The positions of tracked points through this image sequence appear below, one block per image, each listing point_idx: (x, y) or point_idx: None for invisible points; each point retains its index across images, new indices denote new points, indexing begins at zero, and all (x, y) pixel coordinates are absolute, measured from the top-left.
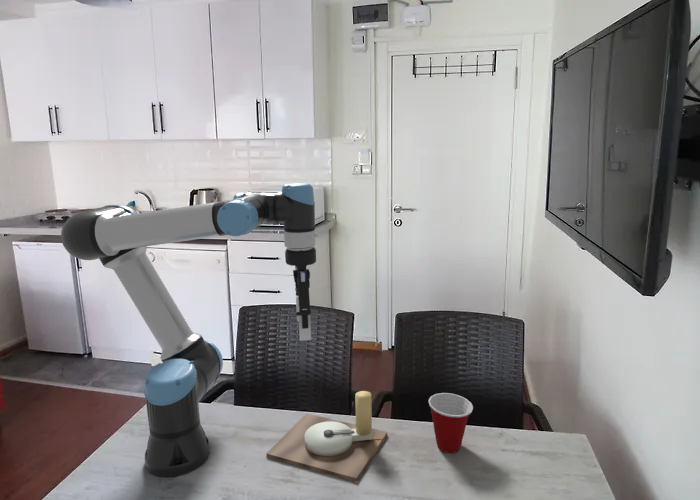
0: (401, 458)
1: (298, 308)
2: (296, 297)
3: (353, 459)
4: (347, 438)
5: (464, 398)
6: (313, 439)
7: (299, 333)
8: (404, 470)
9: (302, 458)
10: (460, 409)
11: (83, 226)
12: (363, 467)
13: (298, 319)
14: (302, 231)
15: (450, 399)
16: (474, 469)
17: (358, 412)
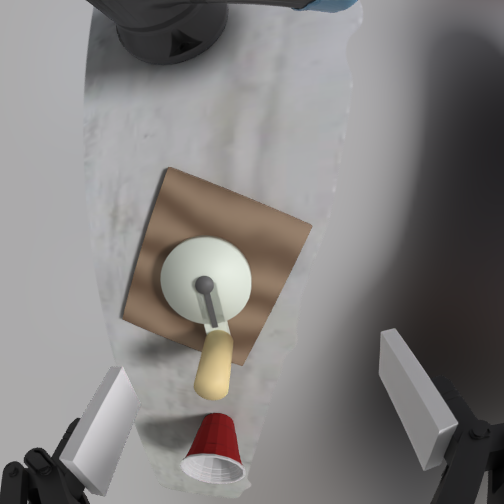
0: (184, 373)
1: (408, 386)
2: (444, 430)
3: (163, 316)
4: (194, 316)
5: (232, 481)
6: (187, 257)
7: (103, 387)
8: (159, 373)
9: (157, 236)
10: (230, 467)
11: None
12: (146, 329)
13: (383, 343)
14: None
15: (240, 468)
16: (175, 432)
17: (201, 359)
